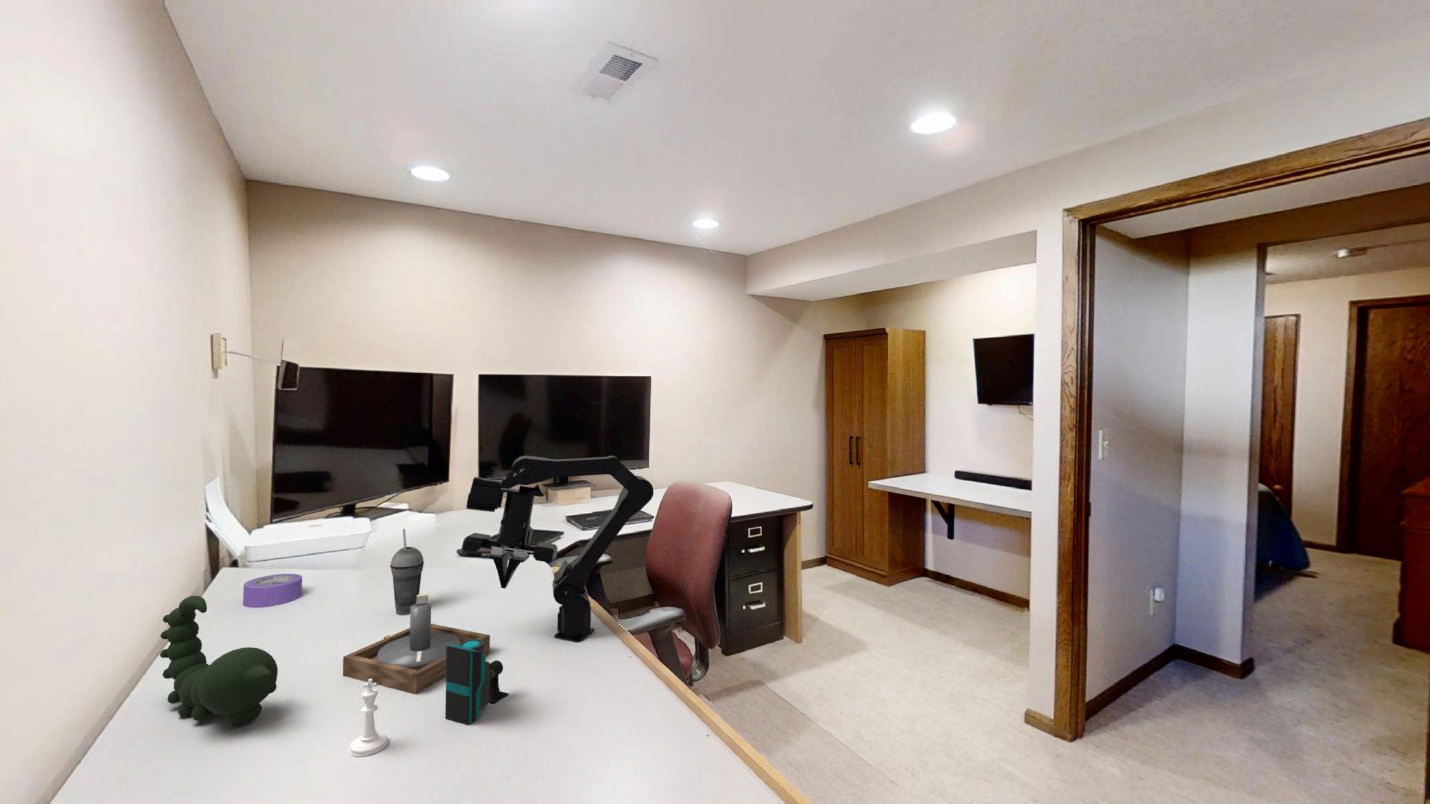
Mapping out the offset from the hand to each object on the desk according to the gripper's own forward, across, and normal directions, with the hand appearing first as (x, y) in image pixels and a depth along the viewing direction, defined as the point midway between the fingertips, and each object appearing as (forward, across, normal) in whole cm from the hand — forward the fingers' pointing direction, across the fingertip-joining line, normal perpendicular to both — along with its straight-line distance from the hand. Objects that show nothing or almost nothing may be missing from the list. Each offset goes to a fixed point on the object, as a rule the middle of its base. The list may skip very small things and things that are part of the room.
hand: (503, 587), depth 120 cm
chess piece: (+16, +7, +35) cm, 39 cm away
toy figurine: (+19, +36, +24) cm, 47 cm away
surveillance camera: (+13, -5, +24) cm, 28 cm away
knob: (+12, +12, +8) cm, 19 cm away
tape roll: (+20, +63, -30) cm, 72 cm away
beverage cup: (+15, +26, -20) cm, 36 cm away
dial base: (+14, +11, +8) cm, 20 cm away
